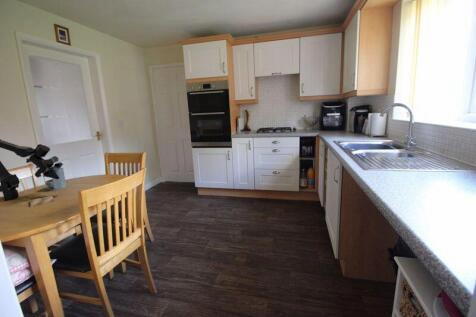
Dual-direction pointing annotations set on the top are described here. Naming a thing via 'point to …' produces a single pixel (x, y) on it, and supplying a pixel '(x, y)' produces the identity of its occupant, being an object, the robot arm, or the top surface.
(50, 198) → the walnut pad
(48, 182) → the mortar and pestle
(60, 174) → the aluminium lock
